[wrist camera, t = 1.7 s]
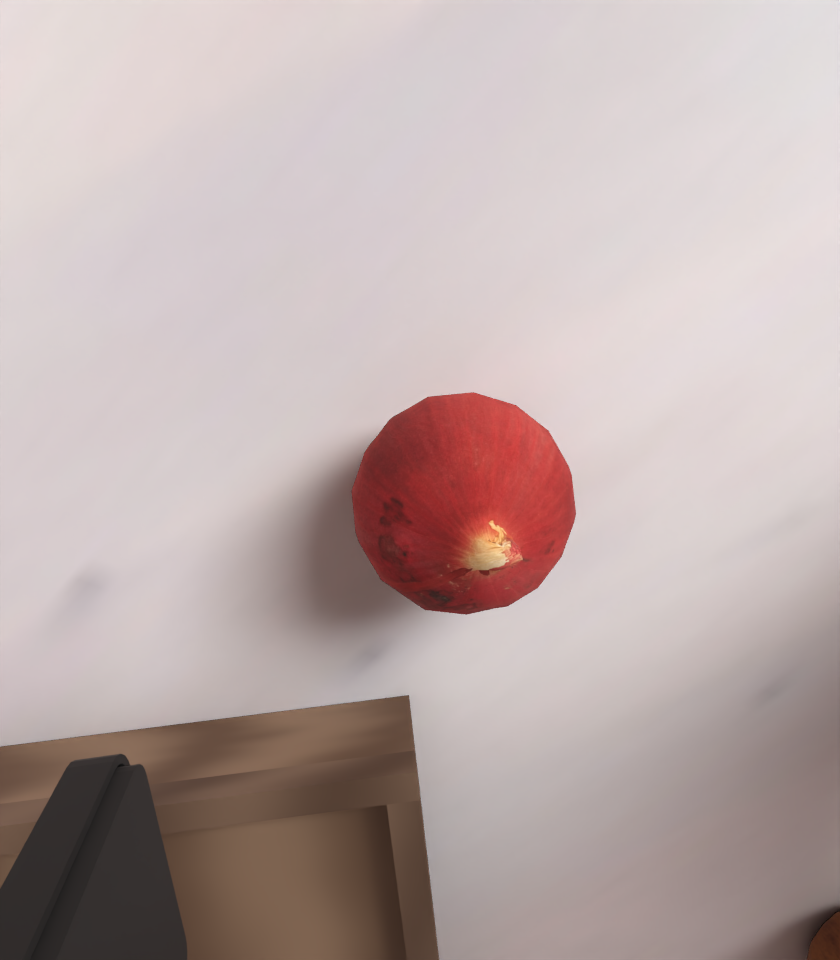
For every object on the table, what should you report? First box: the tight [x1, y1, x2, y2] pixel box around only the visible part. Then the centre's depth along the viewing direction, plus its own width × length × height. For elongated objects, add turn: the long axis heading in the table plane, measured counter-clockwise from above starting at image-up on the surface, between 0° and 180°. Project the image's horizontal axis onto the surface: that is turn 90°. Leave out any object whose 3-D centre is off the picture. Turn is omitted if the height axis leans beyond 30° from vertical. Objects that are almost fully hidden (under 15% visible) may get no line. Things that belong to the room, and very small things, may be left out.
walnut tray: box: [0, 695, 439, 960], centre depth 26 cm, size 16×16×4 cm
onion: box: [352, 392, 576, 614], centre depth 20 cm, size 6×6×8 cm
